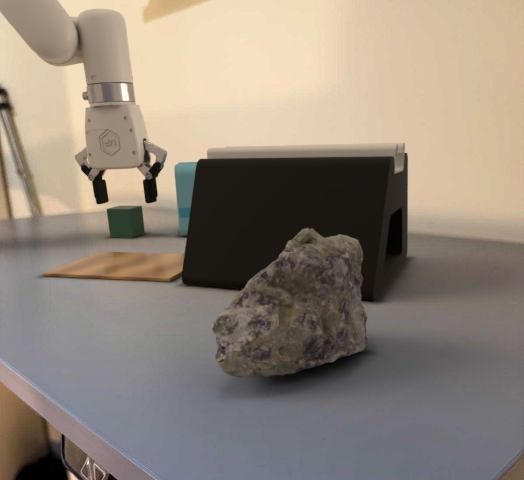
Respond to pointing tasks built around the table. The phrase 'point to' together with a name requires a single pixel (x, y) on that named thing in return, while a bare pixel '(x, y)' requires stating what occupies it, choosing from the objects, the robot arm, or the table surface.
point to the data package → (184, 192)
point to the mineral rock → (296, 310)
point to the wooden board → (123, 266)
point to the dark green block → (125, 221)
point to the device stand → (296, 208)
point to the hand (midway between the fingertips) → (126, 202)
